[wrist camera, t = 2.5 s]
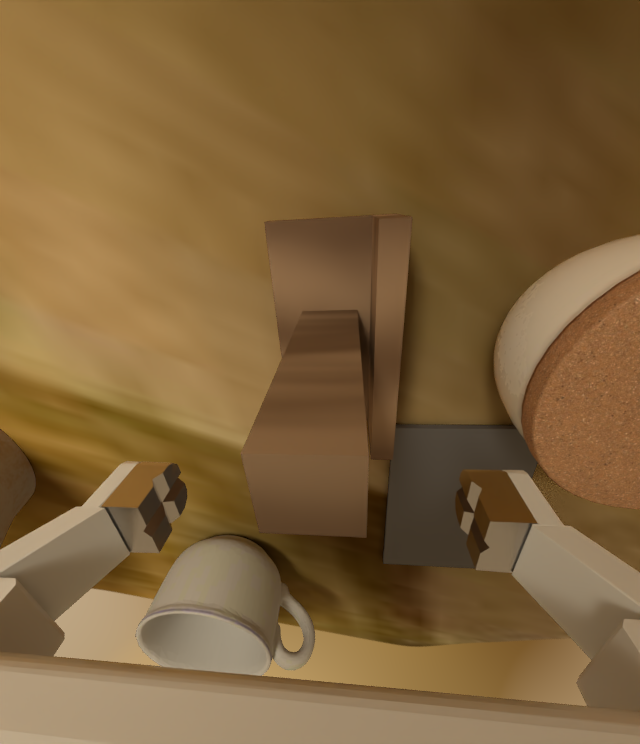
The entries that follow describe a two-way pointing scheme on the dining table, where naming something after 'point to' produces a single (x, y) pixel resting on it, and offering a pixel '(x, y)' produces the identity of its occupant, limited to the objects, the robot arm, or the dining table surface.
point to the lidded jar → (579, 372)
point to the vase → (13, 482)
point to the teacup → (223, 612)
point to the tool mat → (441, 487)
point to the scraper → (329, 371)
